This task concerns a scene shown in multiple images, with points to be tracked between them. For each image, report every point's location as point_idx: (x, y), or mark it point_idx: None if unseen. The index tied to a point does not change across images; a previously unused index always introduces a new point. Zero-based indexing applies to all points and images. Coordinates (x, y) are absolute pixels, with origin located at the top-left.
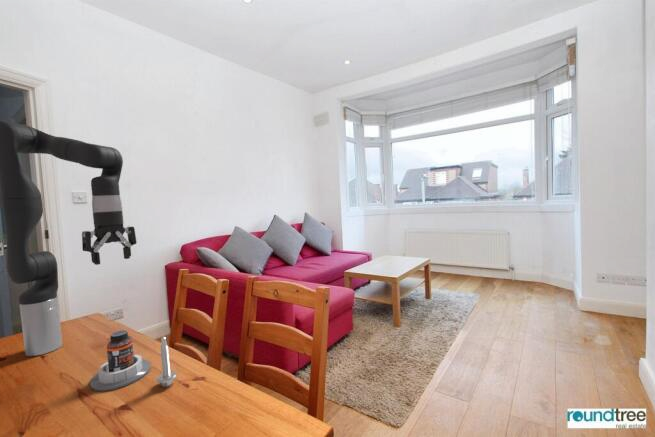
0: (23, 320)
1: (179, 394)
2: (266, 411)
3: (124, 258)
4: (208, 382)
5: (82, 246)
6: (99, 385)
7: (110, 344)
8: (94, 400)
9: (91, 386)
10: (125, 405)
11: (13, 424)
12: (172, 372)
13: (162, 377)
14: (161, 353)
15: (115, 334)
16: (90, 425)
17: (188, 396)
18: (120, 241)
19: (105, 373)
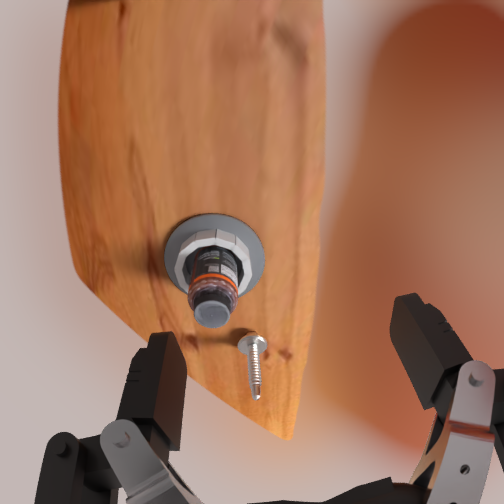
0: None
1: None
2: (283, 420)
3: (395, 299)
4: (286, 367)
5: (41, 471)
6: (174, 274)
7: (192, 307)
8: (164, 297)
9: (165, 263)
10: (193, 338)
11: (79, 266)
12: (261, 347)
13: (245, 348)
14: (249, 377)
15: (203, 317)
16: None
17: None
18: (424, 468)
19: (183, 285)
